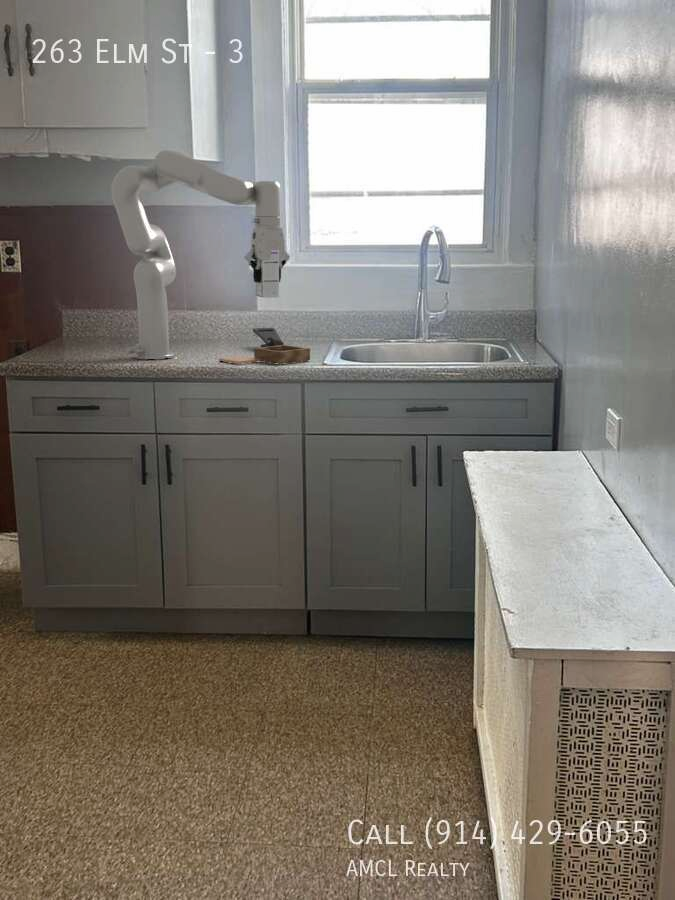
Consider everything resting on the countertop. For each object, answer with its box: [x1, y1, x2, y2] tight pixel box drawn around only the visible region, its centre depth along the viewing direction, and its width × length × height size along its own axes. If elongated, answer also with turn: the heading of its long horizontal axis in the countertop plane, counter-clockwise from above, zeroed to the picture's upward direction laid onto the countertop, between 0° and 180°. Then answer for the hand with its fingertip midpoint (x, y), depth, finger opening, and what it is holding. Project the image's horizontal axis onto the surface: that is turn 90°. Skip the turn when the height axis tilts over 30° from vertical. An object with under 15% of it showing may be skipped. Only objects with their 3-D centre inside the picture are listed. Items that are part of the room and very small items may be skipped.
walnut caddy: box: [253, 344, 311, 364], centre depth 330 cm, size 12×12×4 cm
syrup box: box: [255, 250, 280, 299], centre depth 324 cm, size 6×6×14 cm
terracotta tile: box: [218, 355, 261, 365], centre depth 329 cm, size 10×10×1 cm
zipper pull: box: [252, 327, 285, 348], centre depth 353 cm, size 9×7×25 cm
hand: (267, 281), depth 325 cm, fingers closed on syrup box, 6 cm apart
